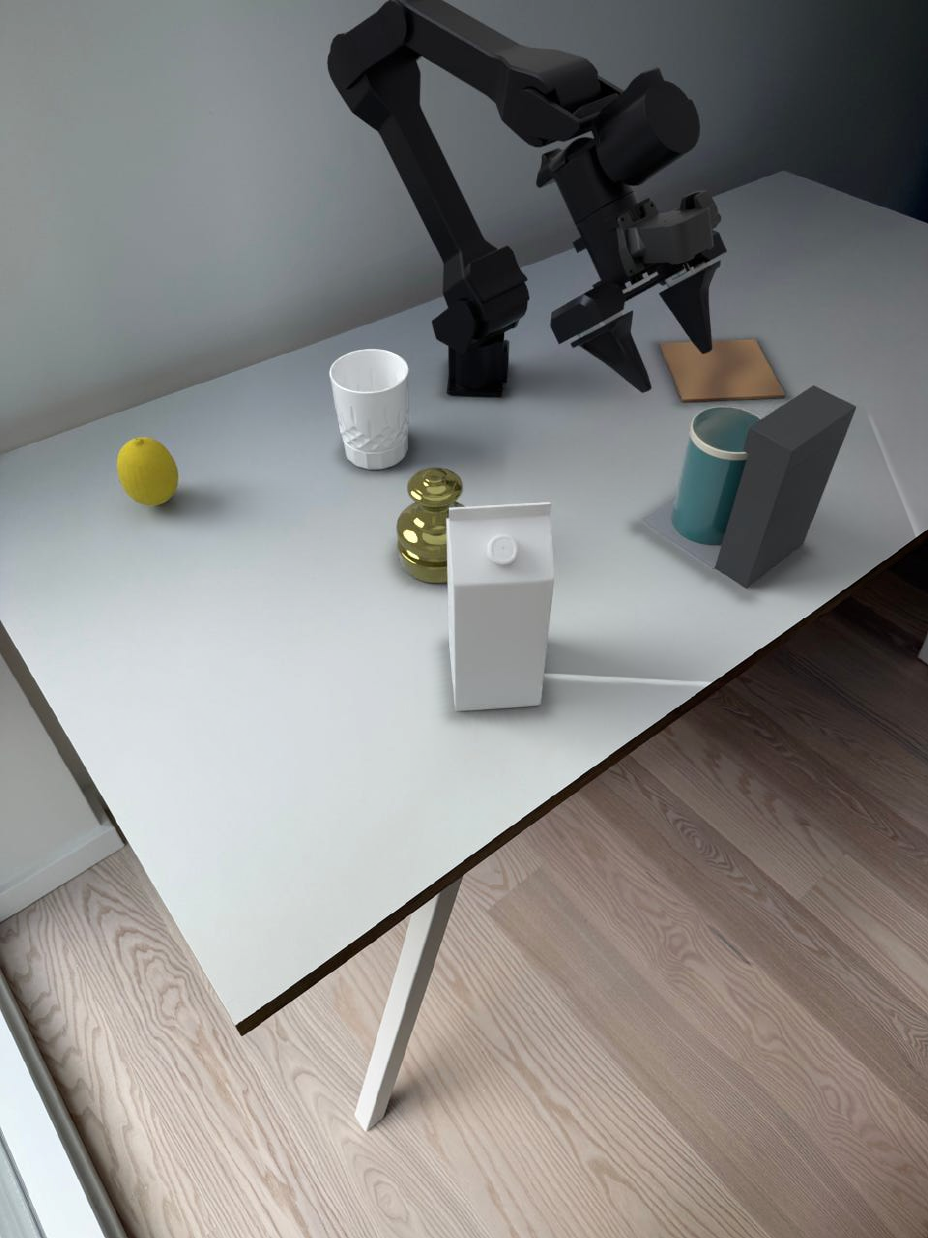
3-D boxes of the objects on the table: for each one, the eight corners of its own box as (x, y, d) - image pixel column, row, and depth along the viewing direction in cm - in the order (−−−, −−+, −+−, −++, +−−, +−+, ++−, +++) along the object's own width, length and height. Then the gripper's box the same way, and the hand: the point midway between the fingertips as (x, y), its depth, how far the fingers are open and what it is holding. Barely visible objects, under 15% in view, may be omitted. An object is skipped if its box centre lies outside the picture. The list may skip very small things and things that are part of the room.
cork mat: (682, 402, 102) (683, 399, 102) (659, 345, 110) (660, 342, 110) (784, 397, 103) (785, 394, 103) (754, 341, 111) (755, 339, 111)
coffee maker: (639, 527, 88) (668, 384, 76) (701, 485, 92) (737, 344, 80) (742, 596, 82) (790, 452, 70) (803, 548, 86) (859, 404, 74)
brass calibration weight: (419, 595, 82) (414, 513, 75) (386, 546, 86) (378, 464, 79) (489, 569, 84) (492, 487, 77) (454, 522, 89) (453, 440, 81)
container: (673, 544, 85) (695, 451, 77) (667, 496, 90) (687, 404, 82) (747, 547, 85) (777, 455, 77) (737, 499, 90) (764, 407, 82)
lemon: (196, 492, 92) (177, 428, 86) (167, 526, 88) (145, 462, 82) (149, 481, 93) (128, 417, 87) (119, 514, 89) (94, 450, 84)
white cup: (402, 478, 93) (397, 396, 86) (330, 468, 94) (319, 387, 87) (420, 433, 98) (416, 353, 91) (351, 425, 99) (342, 344, 92)
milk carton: (448, 646, 78) (445, 475, 64) (529, 641, 78) (543, 470, 64) (455, 712, 73) (452, 544, 59) (541, 706, 74) (559, 537, 59)
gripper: (594, 199, 68) (679, 387, 71) (736, 134, 76) (806, 304, 80) (512, 258, 77) (591, 421, 81) (647, 194, 86) (712, 343, 89)
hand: (678, 371), depth 82 cm, fingers open, 9 cm apart
